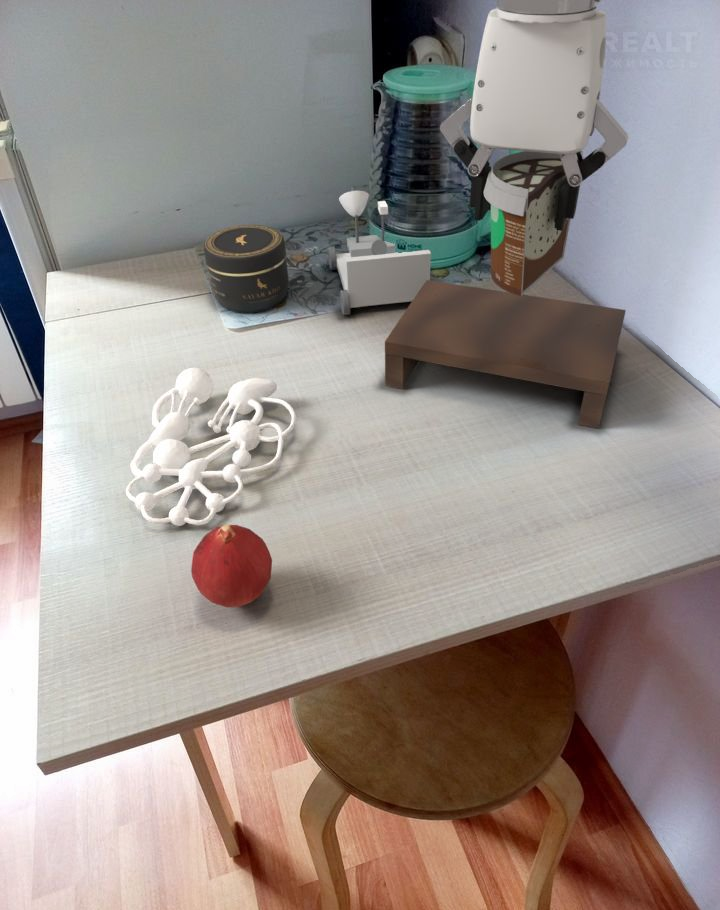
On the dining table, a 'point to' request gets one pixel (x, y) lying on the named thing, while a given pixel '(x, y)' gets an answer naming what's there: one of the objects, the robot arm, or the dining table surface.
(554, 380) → the shelf
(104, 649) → the dining table surface
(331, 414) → the dining table surface
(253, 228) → the jar
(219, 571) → the onion
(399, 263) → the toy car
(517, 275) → the food container
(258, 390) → the tangled rod sculpture
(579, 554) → the dining table surface
